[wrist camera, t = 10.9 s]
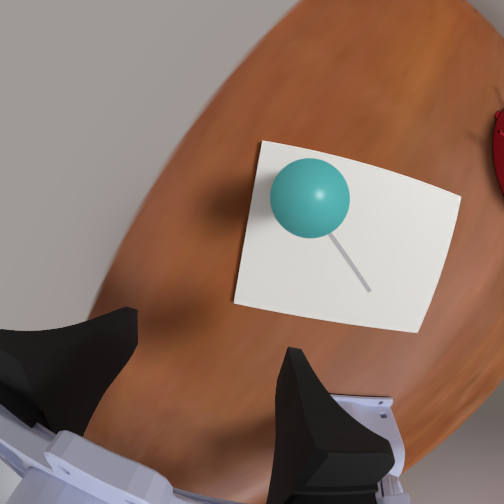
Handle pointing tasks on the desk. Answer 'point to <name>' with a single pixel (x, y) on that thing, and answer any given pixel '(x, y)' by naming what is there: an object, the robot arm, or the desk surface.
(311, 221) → the marker
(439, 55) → the desk surface
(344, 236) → the notepad
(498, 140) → the alarm clock
